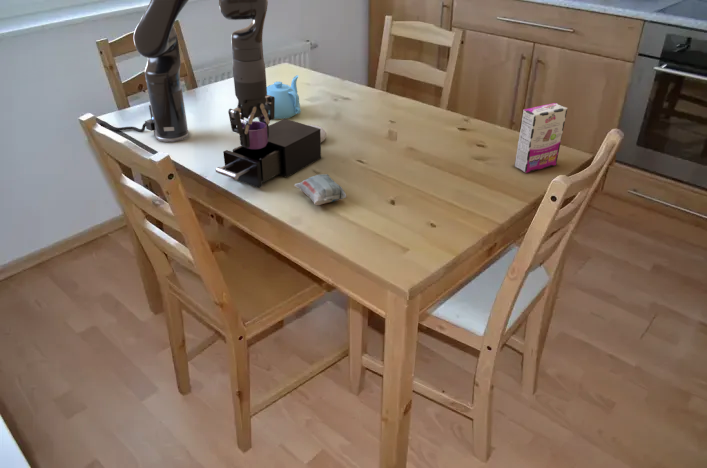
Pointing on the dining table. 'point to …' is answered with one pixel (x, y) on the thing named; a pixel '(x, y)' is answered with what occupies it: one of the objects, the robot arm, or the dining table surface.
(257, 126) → the cup
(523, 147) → the candy bar box
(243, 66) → the robot arm
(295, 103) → the teapot
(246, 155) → the drawer
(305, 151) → the cabinet
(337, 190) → the packaged food
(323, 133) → the donut
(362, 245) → the dining table surface
